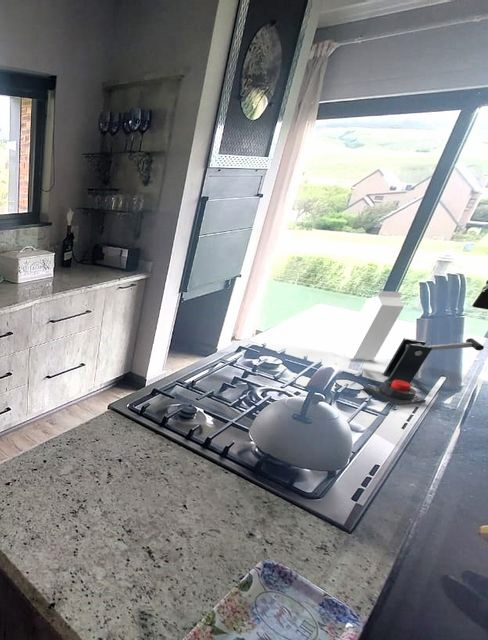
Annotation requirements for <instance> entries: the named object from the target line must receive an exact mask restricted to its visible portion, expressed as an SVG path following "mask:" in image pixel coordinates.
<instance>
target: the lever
mask: <svg viewBox="0 0 488 640" xmlns="http://www.w3.org/2000/svg"><path fill="white" fill-rule="evenodd" d="M415 344H416V345H422V344H421V343H415ZM408 345H409V344H406V348H407V347H408ZM422 346H423V345H422ZM427 346H428V347H431V348H432V350H431V351H439V350H440V351H441V350H453V349H467V348H472V349H474V350H475V351H477V352H478V351H482V350H484V348H485V347H484V345H483V344H481V343H480V342H478V341H477V340H475V339H474V338H467V339H466V340H465V342H457V343H456V342H455V343H442V344H432V345H427Z"/></svg>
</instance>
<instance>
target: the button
mask: <svg viewBox="0 0 488 640" xmlns="http://www.w3.org/2000/svg"><path fill="white" fill-rule="evenodd" d="M391 387H393V388H395V389H397V390H400V391H406V392H407V391H408V390H409V388H410V387H411V388H412V384H411V383H410V384H409V383H408V382H405V381H402V380H394V381H393V382H392V384H391Z"/></svg>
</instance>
